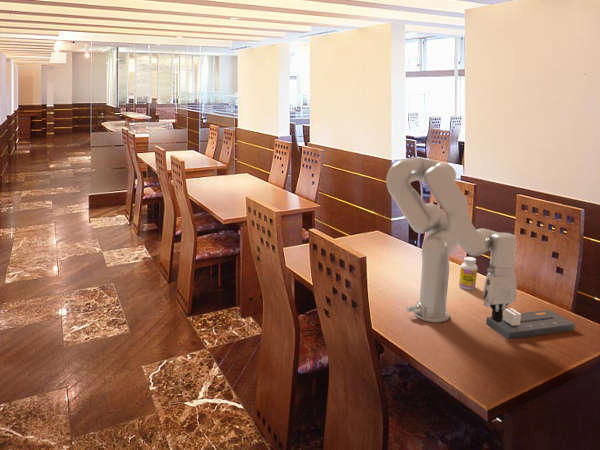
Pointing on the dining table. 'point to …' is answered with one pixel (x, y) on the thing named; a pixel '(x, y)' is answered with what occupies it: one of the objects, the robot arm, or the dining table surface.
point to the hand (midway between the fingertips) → (496, 320)
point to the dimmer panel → (532, 325)
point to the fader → (512, 316)
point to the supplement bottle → (468, 273)
